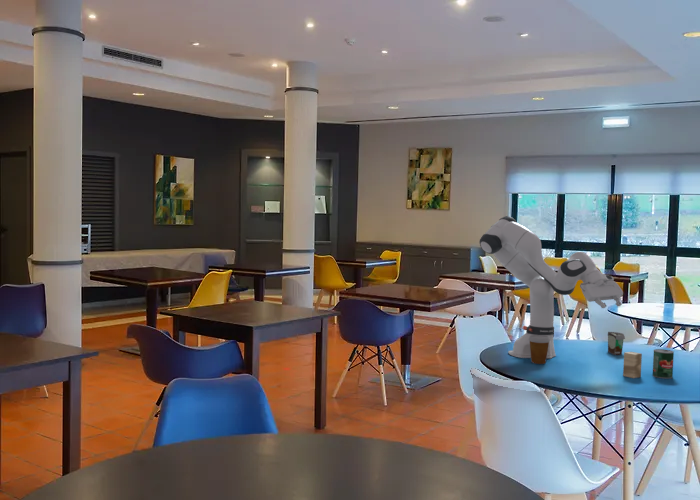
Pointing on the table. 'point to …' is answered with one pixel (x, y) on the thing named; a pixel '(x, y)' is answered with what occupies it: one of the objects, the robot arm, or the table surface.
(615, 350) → the food container
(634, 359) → the oak block
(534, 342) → the disposable coffee cup
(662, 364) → the canned tomato
